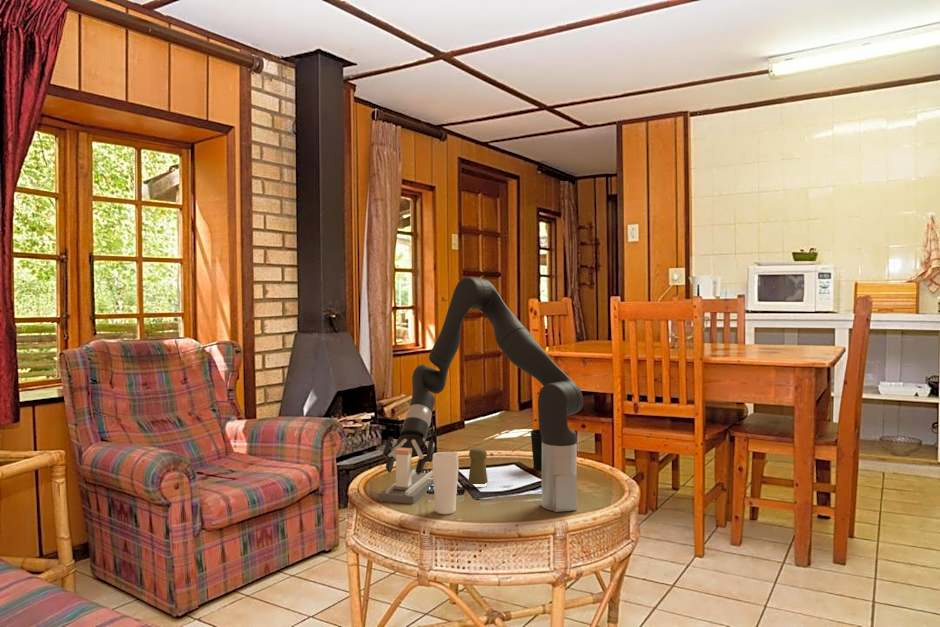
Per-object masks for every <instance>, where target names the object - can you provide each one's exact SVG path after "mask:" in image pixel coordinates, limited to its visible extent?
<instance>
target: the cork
mask: <svg viewBox="0 0 940 627" xmlns="http://www.w3.org/2000/svg"><path fill="white" fill-rule="evenodd" d="M468 455H469V459H470V464H469V465H470V466H469V473H468V480H467V483H468V482H469V483H472V484H485V483H487V482H488V483H489V480H488V474H487V467H486V458H487V457H488V454H487V449H485V448H483V447H474V448H471V449H469V452H468Z"/></svg>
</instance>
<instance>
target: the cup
mask: <svg viewBox="0 0 940 627" xmlns="http://www.w3.org/2000/svg"><path fill="white" fill-rule="evenodd" d="M530 439H531V450H532V452H531V453H532V463H533V470H535V471H541V472H542V436H541V433H540V430H539V428H538V429H532V430H531V431H530Z"/></svg>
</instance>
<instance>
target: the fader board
mask: <svg viewBox="0 0 940 627" xmlns="http://www.w3.org/2000/svg"><path fill="white" fill-rule="evenodd" d="M411 484H413V486H411V487H410V488H409V489H408V490H398V489H394V487H395V486H396V481H394V482H393V483H392V484H390V485H389V486H388V487H385V489H384V490H383V489H382V491H380V492H379V493H378V501H379V500H381V501H380V502H385V501H388V503H399V504H411V505H414V504H415V503H417V501H419V500H420V499H421V498H422V497H423V496H424V495H426V493H428V492H429V491H428V489H429V487H430V486H431V485H432V484H433V471H432V470H430V471H429V472H422V473H420V475H417V474H416V468H415V469H411ZM427 491H428V492H427Z"/></svg>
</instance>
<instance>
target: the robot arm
mask: <svg viewBox="0 0 940 627" xmlns="http://www.w3.org/2000/svg"><path fill="white" fill-rule="evenodd" d="M451 296H452V297H451V300H450V303H449V306H448V308H447V311H446V312H447V313H446V315H445V317H444V318H445V319H444V322H443V325H442V327H441V329H440V332H439V334H438V337H437V339H436V341H435V342H434V344H433V346H432V349H431V351H430V352H429V355H428V359H429V362H430V363H431V364H433V366H435V367H436V368H438V369H439V370H437V369H435V368H433V367H430V366H428V365H425V364H420V365H418V366H417V367H415V369H414V370H413V372H412V376H411V377H412V379H411V381H412V382H411V383H412V384H411V385H412V387H411V388H412V392H411V393H412V394H411V401H410V403H409V407H408V410H407V412H406V414H405V417H404V421H403V423H402V424H403V425H402V428H401V431H400V434H399V437H398V439H396V438H393V437H392V436H389V437H388V438H387V441H386V444H385V446H384V448H383V451H382V455H383V456H384V458H385V459H386V463H385V469H386V471H387V472H388V473H392V470H393V467H394V463H395V461H396V454H395V450H396V449H398V448H399V447H400V448H412V453H411V456H415V455H417V457H418V459H417V464H416V466H415V467H416V468H415V469H416V474H417V475H420V473H423V470H424V467H425V464H426V463H427V462H428V463H431V462H432V460H433V454H435V447H436V444H435V442H434V439H430V440H427V436H428V432H429V429H430V426H431V421H432V415H433V414H432V413H433V410H434V407H435V403H436V398H435V396H434V395H433V394H436V395H438V394H440V393H442V392H443V391H444V390H445V387H446V383H447V378H448V372H449V369H450V366H451V364H452V361H453V359H454V357H455V355H456V353H457V352H458V349H459V347H460V344H461V339H462V334H461V333H462V332H461V331H462V325H463V321H464V319H465V316H466V315H467V314H468V312H469V311H470V310H479V312H481V313H482V314H483V315H484V316H485V317H486V318H487V320H488V321H489V322H490V324H491V325H492V327H493V333H494V334H493V335H494V339H495V341H496V344H497V345H498V347H499V349H500V350H501V351H502V352H503V354H504V355H505V357H507V358H506V359H508V360H509V361H510V362H511V363H512V364H513V365H514V366H516V367H517V368H519V369H520V370H522V371H523V372H525V373H526V374H528V375H530V376H531V377H533V378H534V379H536V380H537V381H538V382H539V383H540V384H541V385H542V387H541V388H540V390H539V392H538V396H537V397H538V398H537V415H538V416H537V418H538V429H539V430H540V433H541V436H542V471H541V507H542V508H543V509H545V510H548V511H552V512H555V513H560V512H570V511H577V510H578V475H577V463H578V462H577V458H578V457H577V455H578V454H577V452H578V451H577V450H578V448H577V447H578V446H577V445H578V436H577V432H576V431H575V430H573V429H570V428H569V424H568V417H569V416H571V415H575V414H577V413H579V412H580V411H581V410H582V409H583V405H584V395H583V393H582V391H581V389H580V387H579V386H578V385H577V384H576V382H575V381H574V380H572V379H571V378H570V377H569V376H568V375H567V373H565V371H563V370H562V369H561V368H560V367H559V366H558V365H557V364H556V363H555V362H554V360H553V359H552V358H551V357H550V355H548V354H547V352H546V351H545V350H544V349H543V347H542V346H541V345H540V344H539V343H538V342H537V340H536V339H535V338H534V337H533V335H532V334H531V332H530V331H529V330H528V329H527V327H525V326H524V325H523V324H522V322H521V321H520V320H519V319H518V317H516V315H515V314H514V313H513V311H511V310H510V308H509V307H508V306H507V304H506V303H505V301H504V300H503V299H502V297H501V295H500V294H499V292H498V290H497V289H496V288H495V286H494V285H493V283H492V282H490V281H489V280H488V279H485V278H481V277H473V276H472V277H471V276H466V277H463V278H461V279H460V280H459V281H458V283H456V286H455V288H454V290H453V293H452V295H451ZM425 447H426V449H427V450H426V455H423V452H422V450H423V449H424V448H425Z"/></svg>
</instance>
